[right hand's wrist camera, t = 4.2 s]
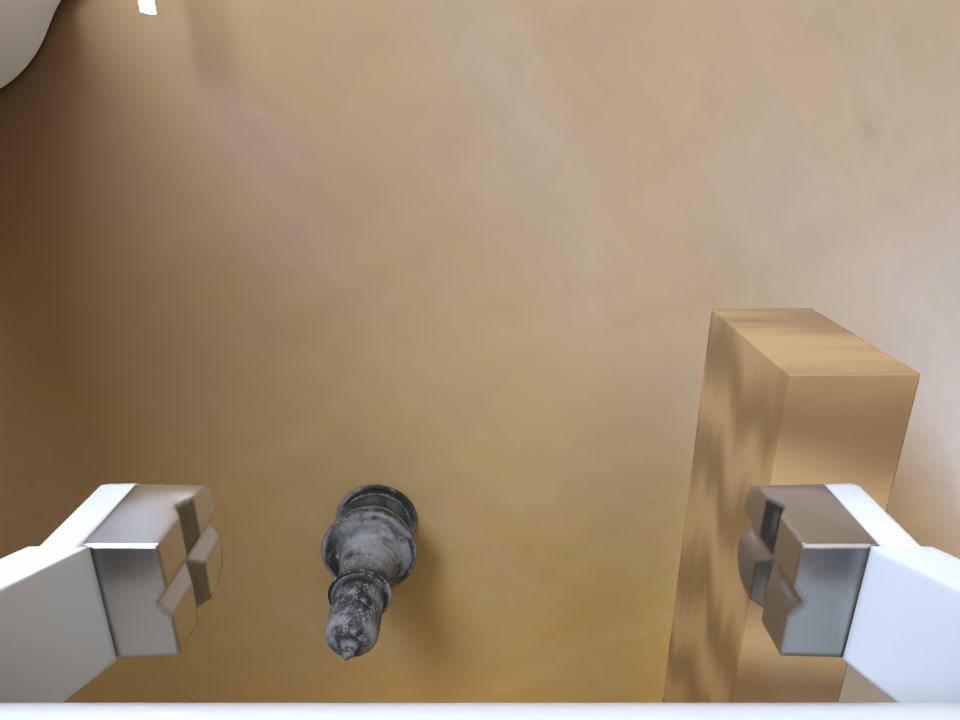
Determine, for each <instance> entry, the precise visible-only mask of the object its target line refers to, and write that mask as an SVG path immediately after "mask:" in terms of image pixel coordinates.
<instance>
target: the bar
mask: <svg viewBox="0 0 960 720" xmlns="http://www.w3.org/2000/svg"><path fill="white" fill-rule="evenodd" d="M919 378H920V373H918V372H916V371H915V370H913V369H911V368H910V367H908V366H906V365H905V364H903V363H901V362H900V361H898V360H896V359H895V358H893V357H891V356H890V355H888V354H886V353H885V352H883V351H881V350H880V349H878V348H876V347H875V346H873V345H871V344H870V343H868V342H866V341H865V340H863V339H861V338H860V337H858V336H856V335H855V334H853V333H851V332H850V331H848V330H846V329H845V328H843V327H842V326H840V325H838V324H837V323H835V322H833V321H832V320H830V319H828V318H827V317H825V316H823V315H822V314H820V313H818V312H817V311H815V310H813V309H811V308H805V309H712V312H711V320H710V328H709V336H708V344H707V352H706V360H705V368H704V376H703V384H702V392H701V400H700V408H699V416H698V424H697V432H696V440H695V448H694V456H693V463H692V471H691V479H690V487H689V495H688V503H687V511H686V519H685V527H684V535H683V543H682V551H681V559H680V567H679V575H678V583H677V591H676V599H675V607H674V615H673V623H672V630H671V638H670V646H669V654H668V662H667V670H666V678H665V686H664V694H663V702H662V703H838V700H839V696H840V692H841V688H842V684H843V680H844V676H845V672H846V668H847V663H846V662H844V661H843V657H815V656H781V655H780V653H779V652H778V650H777V648H776V646H775V644H774V643H773V641H772V639H771V637H770V635H769V634H768V632H767V630H766V628H765V626H764V625H763V623H762V621H761V619H762V614H763V607H762V606H760V605H759V604H757V603H755V602H754V601H752V600H751V599H749V597H748V595H747V593H746V591H745V589H744V587H743V585H742V581H741V578H740V575H739V569H738V558H737V552H738V544H739V536H740V534H741V533H742V532H743V531H744V530H745V529H746V528H747V527H748V526H749V525H750V524H751V521H750V519H749V518H748V516H747V515H746V513H745V512H744V506H745V500H746V495H747V493H748V491H749V489H750V487H751V486H767V485H808V484H837V483H853V484H855V485H858V486H860V487H861V488H862V489H863V490H864V491H865V492H866V493H867V494H868V495H869V496H870V497H871V498H872V499H873V500H875V501H876V502H877V503H878V504H879V505H880V506H881V507H882V508H883V509H884V510H885V511H886V509H887V505H888V501H889V497H890V493H891V489H892V485H893V481H894V477H895V473H896V469H897V465H898V461H899V457H900V453H901V449H902V445H903V441H904V437H905V433H906V429H907V425H908V421H909V418H910V414H911V410H912V406H913V402H914V398H915V394H916V390H917V386H918V382H919Z"/></svg>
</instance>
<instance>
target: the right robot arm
mask: <svg viewBox="0 0 960 720" xmlns="http://www.w3.org/2000/svg"><path fill="white" fill-rule="evenodd" d="M138 1H139V7H140V12H143V13H147V14H156V9H155V4H154V0H138ZM60 2H61V0H0V88H2V87H4V86H5V85H7V84H8V83H9V82H11V81H12V80H13V79H15V78H16V77H17V76H18V75H19V74H20V73H21V72H22V71H23V70H24V69H25V68H26V66H27V65H28V64H29V63H30V62H31V60H32V59H33V57H34V56H35V54H36V53H37V51H38V49H39V48H40V46H41V44H42V42H43V40H44V38H45V35H46V33H47V30H48V27H49V25H50V22H51V20H52V17H53V15H54V13H55V11H56V9H57V6H58V5H59V3H60ZM215 512H216V506H215V502H214V497H213V492H212V490H211V489H210V488H209V487H208V486H207V485H183V484H138V483H120V484H106V485H101V486H100V487H99V488H98V489H97V490H96V491H95V492H94V493H93V494H92V495H91V496H90V497H89V498H88V499H87V500H86V501H85V502H84V503H83V504H82V505H81V506H80V507H79V508H78V509H77V510H76V511H75V512H74V513H73V514H72V515H71V516H70V517H69V518H68V519H67V520H66V521H65V522H64V523H63V524H62V525H61V526H60V527H59V528H58V529H57V530H56V531H55V532H54V533H53V534H52V535H51V536H50V537H49V538H48V539H47V540H46V541H45V542H44V543H42V544H41V545H40V546H28V547H26V548H24V549H22V550H19V551H17V552H15V553H13V554H10V555H8V556H6V557H4V558H1V559H0V720H960V559H959V558H956V557H954V556H952V555H950V554H947V553H945V552H943V551H941V550H938V549H936V548H934V547H932V546H920V545H919V544H918V543H917V542H916V541H915V540H914V539H913V538H912V537H911V536H910V535H909V534H908V533H907V532H906V531H905V530H904V529H903V528H902V527H901V526H900V525H899V524H898V523H897V522H896V521H895V520H894V519H893V518H892V517H891V516H890V515H889V514H888V513H887V512H886V511H885V510H884V509H883V508H882V507H881V506H880V505H879V504H878V503H877V502H876V501H875V500H873V499H872V498H871V497H870V496H869V495H868V494H867V493H866V492H865V491H864V490H863V489H862V488H861V487H860V486H858V485H855V484H853V483H837V484H808V485H767V486H751V487H750V489H749V491H748V493H747V495H746V500H745V506H744V512H745V513H746V515H747V516H748V518H749V519H750V521H751V524H750V525H749V526H748V527H747V528H746V529H745V530H744V531H743V532H742V533H741V534H740V536H739V544H738V552H737V558H738V569H739V575H740V578H741V581H742V585H743V587H744V589H745V591H746V593H747V595H748V597H749V599H751V600H752V601H754V602H755V603H757V604H759V605H760V606H762V607H763V614H762V619H761V621H762V623H763V625H764V626H765V628H766V630H767V632H768V634H769V635H770V637H771V639H772V641H773V643H774V644H775V646H776V648H777V650H778V652H779V653H780V655H781V656H815V657H843V661H844V662H846V663H847V664H848V665H850V666H851V667H852V668H853V669H855V670H856V671H857V672H858V673H860V674H861V675H862V676H864V677H865V678H866V679H867V680H869V681H870V682H871V683H872V684H874V685H875V686H876V687H878V688H879V689H880V690H881V691H883V692H884V693H885V694H886V695H888V696H889V697H890V698H891V699H893V700H894V701H895V702H897V703H64V702H65V701H66V700H67V699H69V698H70V697H71V696H73V695H74V694H75V693H76V692H78V691H79V690H80V689H81V688H83V687H84V686H85V685H87V684H88V683H89V682H90V681H92V680H93V679H94V678H96V677H97V676H98V675H99V674H101V673H102V672H103V671H104V670H106V669H107V668H108V667H110V666H111V665H112V664H113V663H115V662H116V661H117V657H144V656H179V655H180V654H181V652H182V650H183V648H184V646H185V644H186V643H187V641H188V639H189V637H190V635H191V634H192V632H193V630H194V628H195V626H196V625H197V623H198V621H199V619H198V614H197V607H198V606H200V605H201V604H203V603H205V602H206V601H208V600H209V599H211V597H212V595H213V593H214V591H215V589H216V587H217V585H218V582H219V577H220V573H221V569H222V552H223V549H222V543H221V536H220V534H219V533H218V532H217V531H216V530H215V529H214V528H213V527H212V526H211V525H210V524H209V521H210V519H211V518H212V516H213V515H214V513H215Z"/></svg>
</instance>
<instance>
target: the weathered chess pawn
mask: <svg viewBox="0 0 960 720" xmlns="http://www.w3.org/2000/svg"><path fill="white" fill-rule="evenodd" d="M336 518H337V521H336V522H335V523H334V524H333V525H332V526H331V527H330V528H329V529H328V531H327V533H326V534H325V536H324V538H323V543H322V548H321V550H322V558H323V561H324V563H325V565H326V568H327V569H328V571H329V572H330V573H331V574H332V575H333V577H334V578H335V579H334V580H333V581H332V583H331V585H330V587H329V591H328V599H329V602H330V604H331V609H330V613H329V616H328V620H327V624H326V628H325V637H326V641H327V643H328V645H329V646H330V648H331V649H332V650H333V651H334V652H335V653H337V654H339V655H341V656H342V657H343V659H344V660H348V659H350V658H352V657H357V656H361V655H363V654H365V653H366V652H368V651H369V650H371V649H372V648H373V646H374V645H375V643H376V641H377V639H378V635H379V630H380V624H381V618H382V614H383V613H384V612H385V611H386V610H387V609H388V607H389V606H390V603H391V599H392V591H391V588H392V587H394V586H396V585H398V584H400V583H401V582H402V581H403V580H405V579H406V578H407V577H408V576H409V575H410V573H411V572H412V570H413V568H414V567H415V563H416V559H417V545H416V543H415V540H414V538H413V533H414V531H415V527H416V523H417V522H416V513H415V510H414V507H413V505H412V504H411V502H410V501H409V500H408V498H407V497H405V496H404V495H403V494H402V493H400V492H399V491H397V490H395V489H392V488H390V487H386V486H381V485H368V486H364V487H360V488H357V489H356V490H354V491H352V492H350V493H349V494H348V495H347V496H346V497H345V498H344V499H343V500H342V502H341V504H340V505H339V507H338V512H337V517H336Z"/></svg>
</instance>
